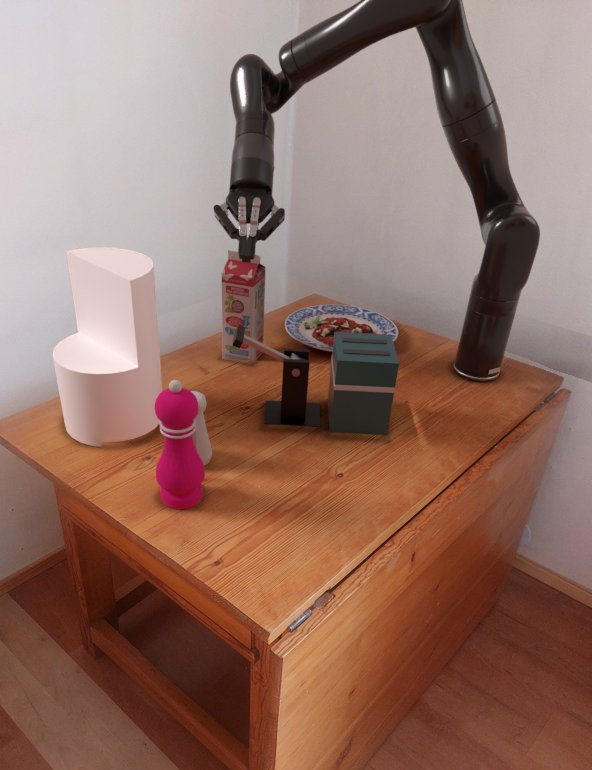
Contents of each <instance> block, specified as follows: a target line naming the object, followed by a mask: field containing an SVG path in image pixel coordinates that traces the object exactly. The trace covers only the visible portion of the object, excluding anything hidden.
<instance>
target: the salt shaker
mask: <svg viewBox="0 0 592 770" xmlns="http://www.w3.org/2000/svg"><path fill="white" fill-rule="evenodd" d="M190 391H191V392H192V393H193V394H194V395H195V396H196V398H197V401H198V407H199V410H198V414H197V416H196V418H195V421H196V423H195V426H196V430H195V432H194V433H193V443H194V446H195V448H196V450H197V452H198V454H199V456H200V458H201V459H202V462H203V465H204V467H205V466H206V465H208V464H209V463H210V461H211V459H212V456H213V449H212V445H211V440H210V436H209V431H208V429H207V423H206V419H205V414H204V412H205V411H206V408H207V406H208V405H207V404H208V403H207V402H208V401H207V398H206V395H205V394H204V393H202V392H201V391H197V390H190Z"/></svg>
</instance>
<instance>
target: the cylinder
mask: <svg viewBox="0 0 592 770" xmlns="http://www.w3.org/2000/svg"><path fill="white" fill-rule="evenodd" d="M65 254H66V261H67V267H68V273H69V274H68V275H69V281H70V287H71V294H72V300H73V306H74V314H75V320H76V328H77V332H76V333H74V334H71V335H69V336H67V337H64V338H63V339H62V340H59V342H58V343H57V344H56V345H55V346H54V347H53V351H52V359H53V365H54V371H55V372H54V373H55V377H56V383H57V388H58V394H59V399H60V405H61V410H62V416H63V421H64V427H65V429H66V433H67V434H68V435H69V436H70V437H71V438H72V439H73V440H74V441H77V442H79V443H81V444H84V445H88V446H91V447H96V448H97V447H99V448H100V447H101V448H102V446H103V444H104V443H117V442H118V443H119V442H124V441H129V440H134V439H136V438H140V437H143V436H145V435H147V434H148V433H150V432H152V431H153V430H155V429H156V428H157V427H158V426H160V424H159V423H160V420H159V419H158V418H157V416H156V414H155V401H156V398H157V397H158V395H159V394H160V393H161V392H162V391H164V389H163V378H162V365H161V364H162V363H161V351H160V335H159V322H158V321H159V320H158V309H157V307H158V306H157V295H156V294H157V293H156V281H155V267H154V260H152V258H151V257H149V255H146V254H144V253H142V252H139V251H136V250H133V249H127V248H121V247H109V246H108V247H106V246H105V247H103V246H101V247H99V246H98V247H95V246H94V247H84V248H83V247H82V248H76V249H70V250H65Z"/></svg>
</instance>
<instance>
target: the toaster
mask: <svg viewBox="0 0 592 770" xmlns="http://www.w3.org/2000/svg"><path fill="white" fill-rule="evenodd" d="M394 343H395V342H393V339H392V336H391V335H388V334H368V333H348V332H334V342H333V352H331V353H332V354H331V358H330V359H331V360H330V361H331V364H330V372H329V373H330V374H329V381H328V392H327V412H328V427H329V433H337V434H338V433H339V434H358V435H359V434H360V435H379V436H388V432H389V426H390V420H391V414H392V408H393V402H394V396H395V393H396V384H397V378H398V373H399V367H400V362H399V358H398V354H397V350H396V347H395V344H394Z"/></svg>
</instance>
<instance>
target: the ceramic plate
mask: <svg viewBox="0 0 592 770" xmlns="http://www.w3.org/2000/svg"><path fill="white" fill-rule="evenodd" d="M284 329H285V331H286V333H287V334H288V335H289V336H290V337H291V338H292V339H293V340H296V341H297V342H299V343H300V344H302V345H305V346H308V347H310V348H312V349H317V350H321V351H325V352H330V353H332V352H333V342H334V332H348V333H368V334H388V335H391V336H392V339H393V343H395V341H396V340H397V339H398V337H399V329H398V327H397V325H396V324H395V323H394V322H393V321H392V320H391V319H390V318H388V317H386V316H385V315H383V314H381V313H379V312H376V311H374V310H371V309H368V308H363V307H359V306H354V305H347V304H318V305H311V306H307V307H303V308H300V309H298V310H296V311H294V312H292V313H291V314H289V315H288V316H287V317H286V319H285V321H284Z"/></svg>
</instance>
